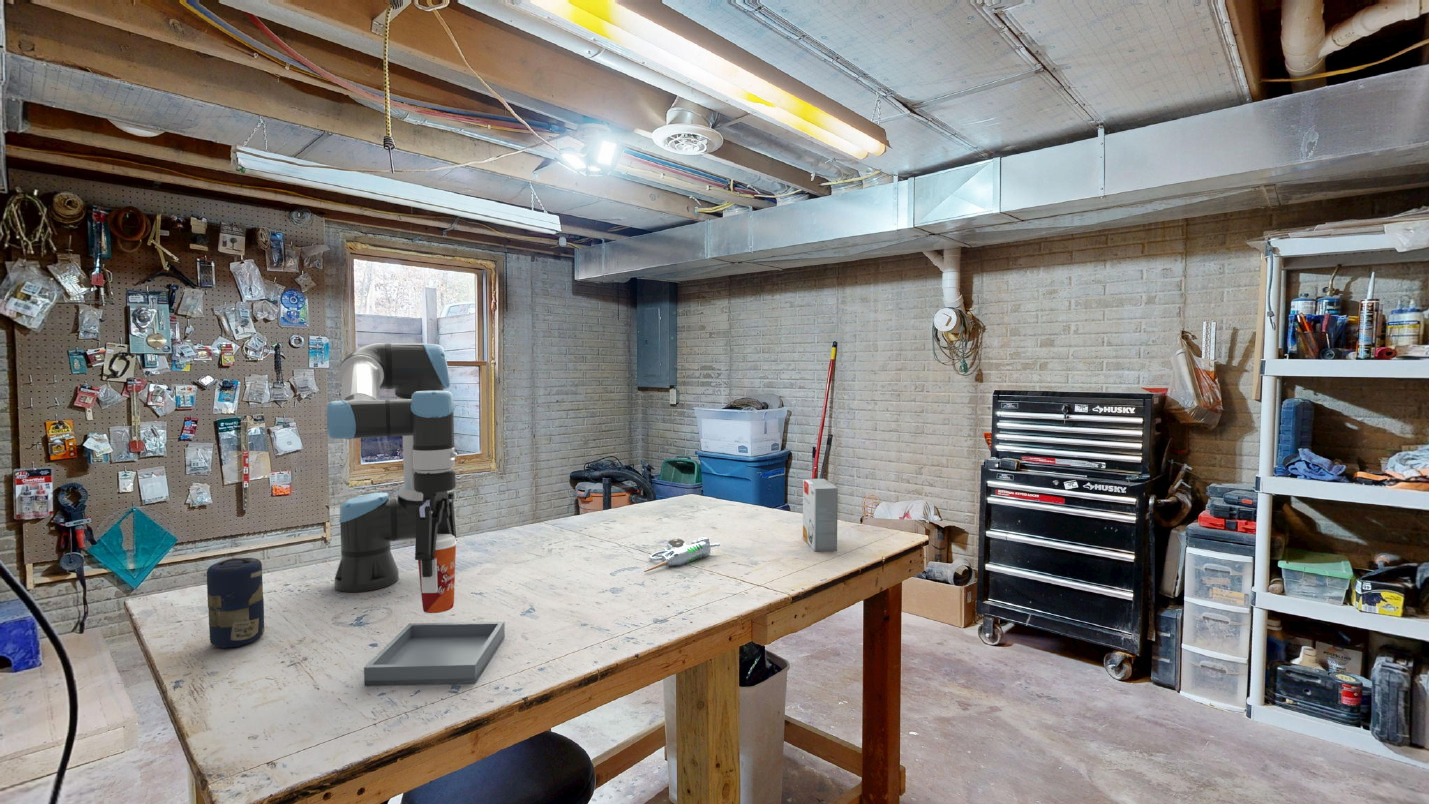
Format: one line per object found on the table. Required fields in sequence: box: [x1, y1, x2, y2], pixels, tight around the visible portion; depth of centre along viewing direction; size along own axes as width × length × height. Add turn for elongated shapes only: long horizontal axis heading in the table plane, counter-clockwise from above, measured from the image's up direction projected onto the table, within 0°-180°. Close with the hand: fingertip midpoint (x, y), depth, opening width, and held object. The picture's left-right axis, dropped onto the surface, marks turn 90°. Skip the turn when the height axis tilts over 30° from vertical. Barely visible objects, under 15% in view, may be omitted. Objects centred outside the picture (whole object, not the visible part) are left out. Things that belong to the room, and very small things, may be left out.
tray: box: [363, 621, 506, 687], centre depth 131 cm, size 20×20×4 cm
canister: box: [206, 557, 265, 648], centre depth 139 cm, size 10×10×18 cm
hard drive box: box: [802, 478, 839, 552], centre depth 212 cm, size 16×8×20 cm, turn 6°
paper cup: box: [417, 534, 458, 614], centre depth 130 cm, size 8×8×14 cm
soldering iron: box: [643, 536, 721, 573], centre depth 197 cm, size 6×28×16 cm
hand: (438, 584), depth 130 cm, fingers closed on paper cup, 8 cm apart
